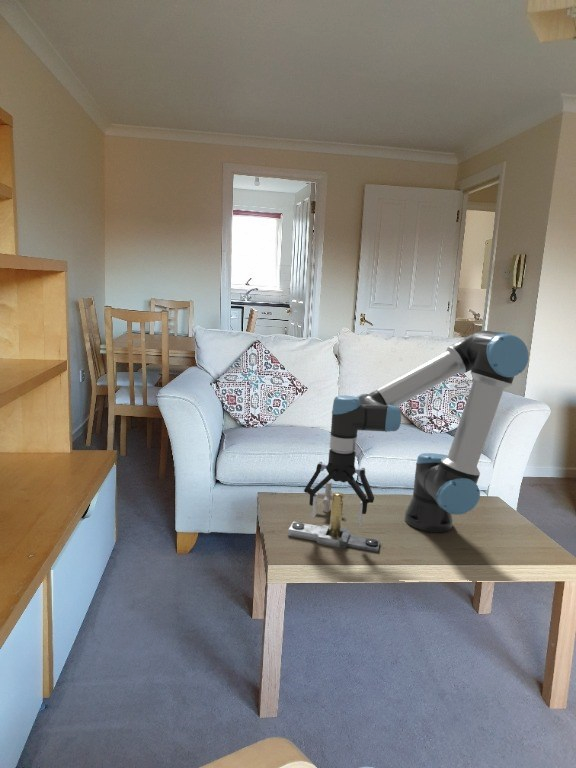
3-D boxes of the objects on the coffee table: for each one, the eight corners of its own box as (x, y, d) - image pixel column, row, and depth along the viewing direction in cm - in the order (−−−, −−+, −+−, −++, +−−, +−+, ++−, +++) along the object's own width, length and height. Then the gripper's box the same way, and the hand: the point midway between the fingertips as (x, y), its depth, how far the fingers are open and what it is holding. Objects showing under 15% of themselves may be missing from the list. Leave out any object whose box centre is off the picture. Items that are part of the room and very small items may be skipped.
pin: (340, 538, 157) (344, 493, 154) (338, 542, 154) (342, 497, 151) (329, 536, 158) (333, 491, 155) (327, 540, 154) (331, 495, 152)
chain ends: (380, 541, 156) (381, 533, 156) (377, 554, 148) (378, 545, 148) (293, 526, 163) (294, 518, 162) (286, 537, 155) (287, 528, 154)
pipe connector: (339, 519, 170) (342, 489, 169) (309, 514, 172) (311, 485, 171) (342, 507, 180) (345, 479, 178) (313, 503, 182) (316, 475, 180)
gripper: (387, 452, 152) (380, 521, 155) (303, 441, 158) (298, 508, 161) (385, 459, 145) (378, 532, 148) (297, 447, 151) (292, 517, 154)
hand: (336, 519), depth 155 cm, fingers open, 13 cm apart
